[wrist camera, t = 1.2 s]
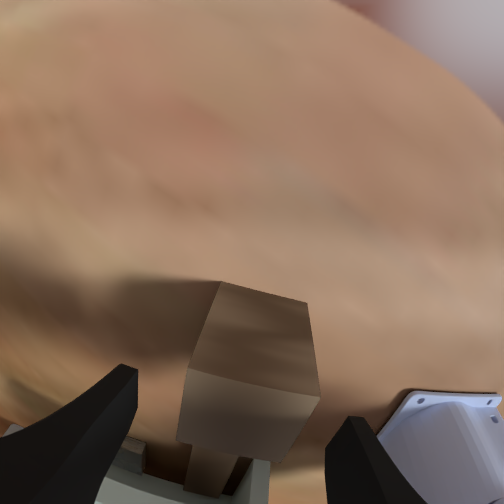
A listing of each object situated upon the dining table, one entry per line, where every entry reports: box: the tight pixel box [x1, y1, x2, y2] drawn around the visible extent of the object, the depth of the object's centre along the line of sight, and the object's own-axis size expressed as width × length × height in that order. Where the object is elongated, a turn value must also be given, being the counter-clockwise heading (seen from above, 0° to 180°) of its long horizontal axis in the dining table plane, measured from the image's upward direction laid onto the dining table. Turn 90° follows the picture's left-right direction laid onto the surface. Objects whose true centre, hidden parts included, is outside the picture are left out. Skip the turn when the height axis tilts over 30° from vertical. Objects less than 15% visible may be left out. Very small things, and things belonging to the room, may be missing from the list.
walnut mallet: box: [176, 281, 321, 498], centre depth 15 cm, size 4×20×6 cm, turn 166°
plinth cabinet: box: [94, 459, 270, 504], centre depth 17 cm, size 16×9×7 cm, turn 76°
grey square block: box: [112, 436, 146, 476], centre depth 19 cm, size 4×4×2 cm
